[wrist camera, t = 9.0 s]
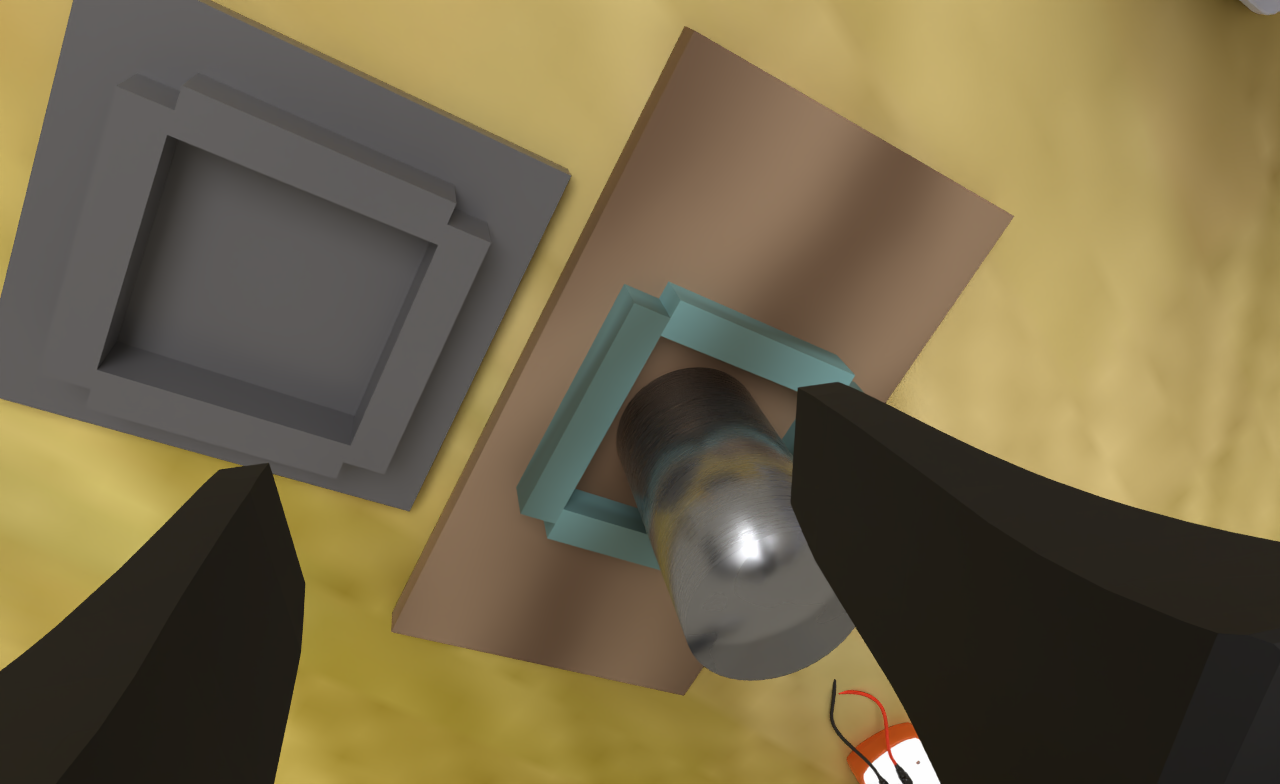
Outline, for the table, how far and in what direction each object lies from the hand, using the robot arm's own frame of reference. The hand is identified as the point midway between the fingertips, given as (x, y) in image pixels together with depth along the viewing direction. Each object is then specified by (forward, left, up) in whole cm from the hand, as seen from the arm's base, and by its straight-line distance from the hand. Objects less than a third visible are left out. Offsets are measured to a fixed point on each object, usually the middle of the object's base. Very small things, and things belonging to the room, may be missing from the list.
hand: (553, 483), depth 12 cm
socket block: (+4, +3, -10) cm, 12 cm away
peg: (-7, +3, -10) cm, 12 cm away
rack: (-7, +3, -10) cm, 13 cm away
